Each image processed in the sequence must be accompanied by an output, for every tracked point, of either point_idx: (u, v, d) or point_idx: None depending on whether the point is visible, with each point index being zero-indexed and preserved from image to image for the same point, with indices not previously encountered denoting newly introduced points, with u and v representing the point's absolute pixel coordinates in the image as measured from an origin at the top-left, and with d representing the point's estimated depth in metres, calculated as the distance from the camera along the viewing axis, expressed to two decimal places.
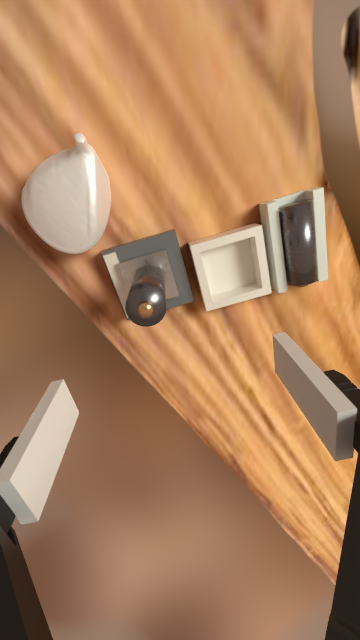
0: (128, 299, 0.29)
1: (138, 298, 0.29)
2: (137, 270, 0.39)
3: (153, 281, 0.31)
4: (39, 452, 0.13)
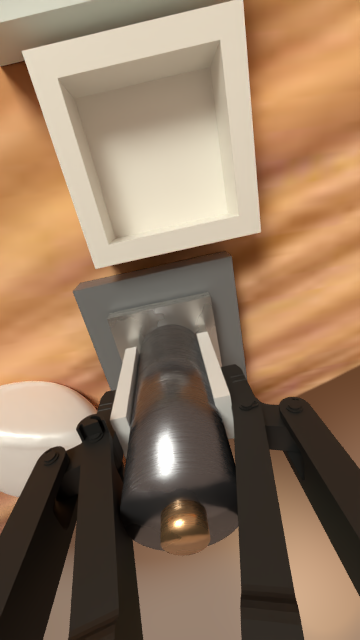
0: (152, 546, 0.10)
1: (152, 528, 0.10)
2: None
3: (132, 429, 0.12)
4: None
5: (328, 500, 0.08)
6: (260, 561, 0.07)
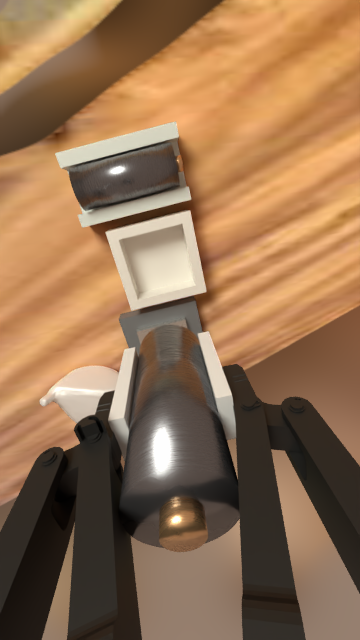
0: (150, 543, 0.10)
1: (151, 524, 0.10)
2: None
3: (131, 428, 0.12)
4: (132, 402, 0.15)
5: (330, 501, 0.08)
6: (261, 560, 0.07)
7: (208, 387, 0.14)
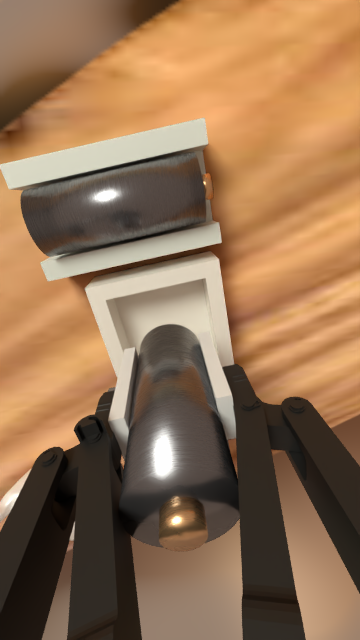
0: (150, 542, 0.10)
1: (151, 524, 0.10)
2: None
3: (131, 427, 0.12)
4: None
5: (330, 500, 0.08)
6: (261, 560, 0.07)
7: (208, 386, 0.14)
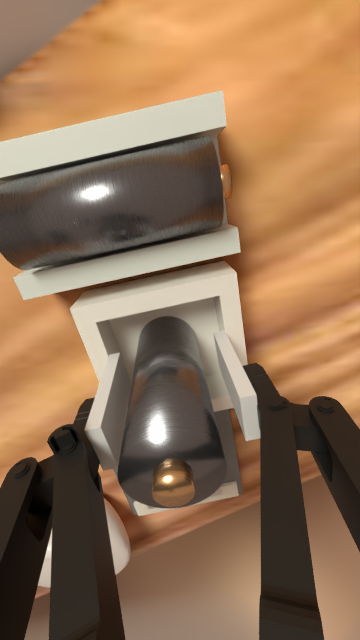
0: (145, 502, 0.12)
1: (145, 485, 0.11)
2: None
3: (129, 404, 0.13)
4: (113, 410, 0.14)
5: (357, 503, 0.08)
6: (281, 562, 0.07)
7: (200, 371, 0.15)
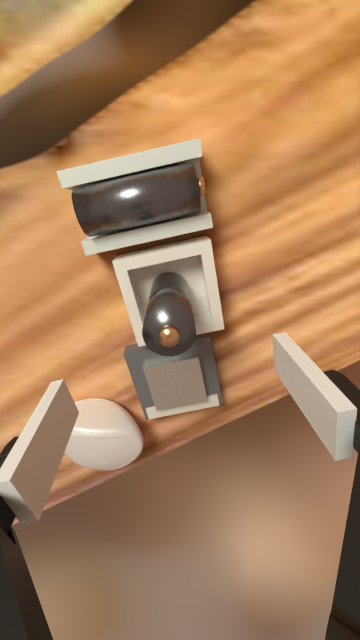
0: (155, 351, 0.23)
1: (155, 340, 0.22)
2: None
3: (147, 308, 0.24)
4: (39, 452, 0.13)
5: None
6: None
7: (187, 296, 0.26)
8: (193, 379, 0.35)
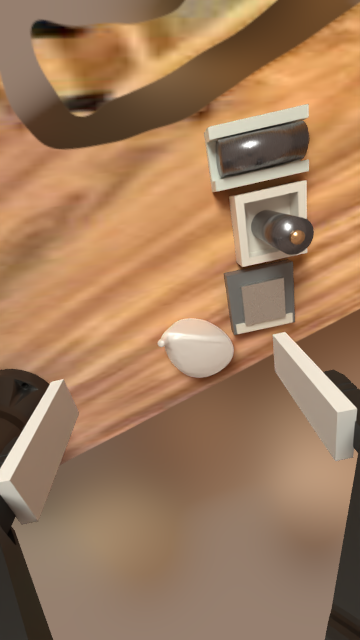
0: (283, 250, 0.34)
1: (285, 241, 0.33)
2: (253, 234, 0.43)
3: (272, 224, 0.35)
4: (39, 452, 0.13)
5: None
6: None
7: None
8: (277, 297, 0.45)
